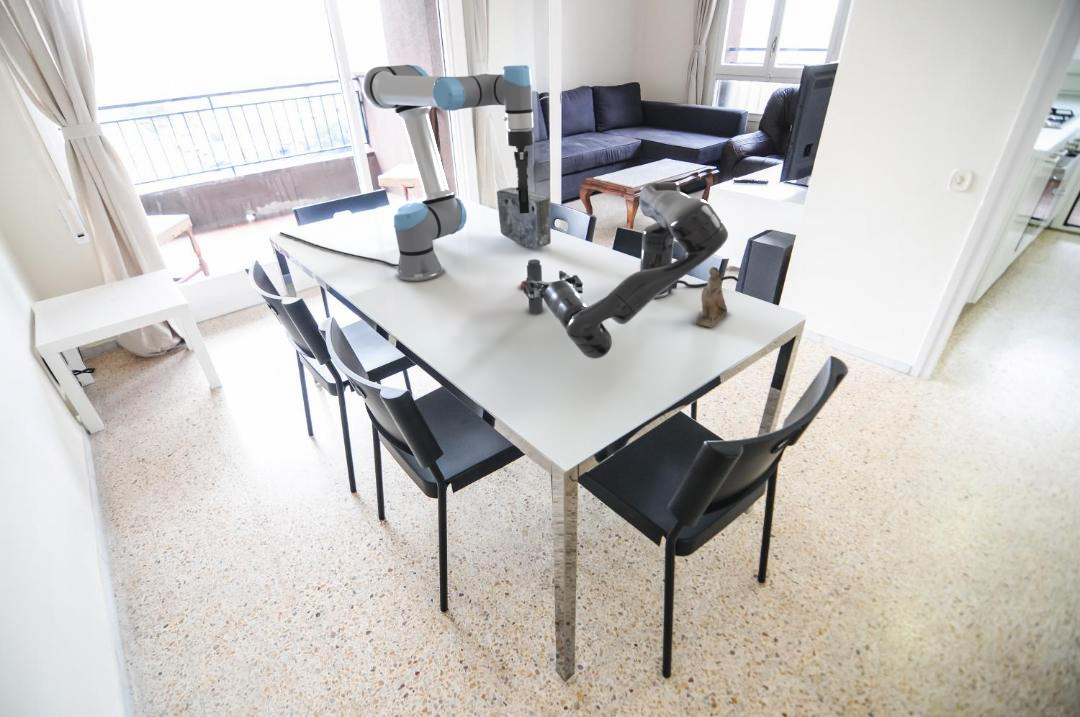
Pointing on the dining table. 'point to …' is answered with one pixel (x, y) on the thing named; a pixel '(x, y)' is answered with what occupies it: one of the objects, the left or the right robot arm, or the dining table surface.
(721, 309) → the worn brown figurine
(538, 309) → the jar
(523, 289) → the lid
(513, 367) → the dining table surface
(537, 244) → the concrete block
